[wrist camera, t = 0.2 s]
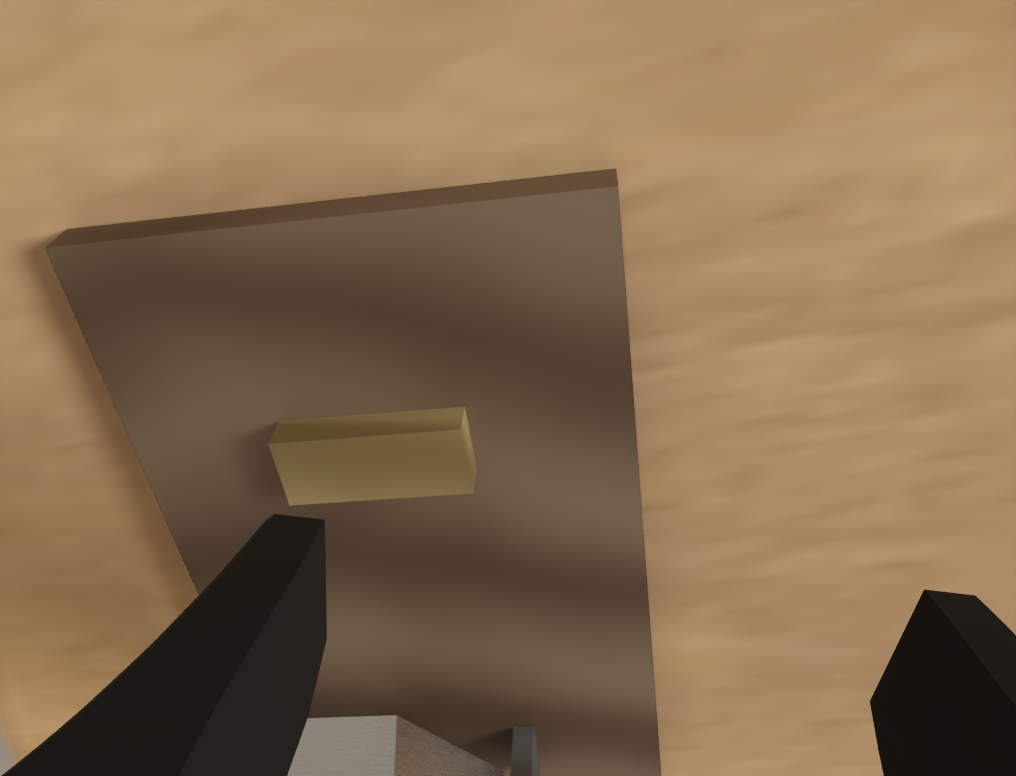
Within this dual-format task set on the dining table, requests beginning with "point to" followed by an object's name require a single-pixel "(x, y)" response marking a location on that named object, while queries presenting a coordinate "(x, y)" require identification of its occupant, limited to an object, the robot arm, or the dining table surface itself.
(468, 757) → the strap
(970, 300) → the dining table surface
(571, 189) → the base board
